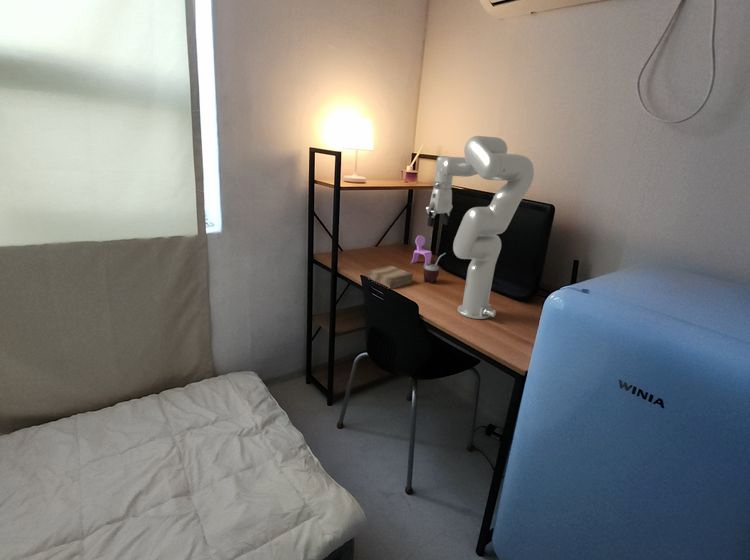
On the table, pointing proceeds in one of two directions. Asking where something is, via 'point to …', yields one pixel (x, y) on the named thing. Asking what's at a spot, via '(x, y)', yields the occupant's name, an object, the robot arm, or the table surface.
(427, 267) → the mate gourd
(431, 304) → the table surface
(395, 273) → the cardboard box
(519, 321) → the table surface
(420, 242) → the toy chair
